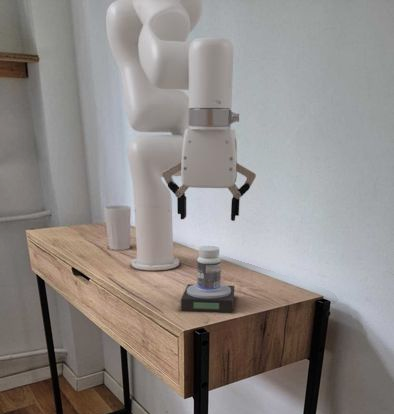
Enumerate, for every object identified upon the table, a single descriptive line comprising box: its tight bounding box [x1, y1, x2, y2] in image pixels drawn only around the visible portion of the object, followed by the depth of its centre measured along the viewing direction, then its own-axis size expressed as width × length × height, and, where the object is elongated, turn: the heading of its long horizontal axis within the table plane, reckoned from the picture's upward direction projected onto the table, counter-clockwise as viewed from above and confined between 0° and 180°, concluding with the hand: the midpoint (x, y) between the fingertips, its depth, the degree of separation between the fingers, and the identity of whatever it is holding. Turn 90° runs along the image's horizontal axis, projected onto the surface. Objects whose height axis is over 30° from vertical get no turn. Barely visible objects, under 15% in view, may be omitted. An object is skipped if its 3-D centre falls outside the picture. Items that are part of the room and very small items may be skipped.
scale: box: [180, 283, 235, 313], centre depth 99 cm, size 10×10×3 cm
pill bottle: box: [196, 245, 222, 292], centre depth 97 cm, size 5×5×8 cm
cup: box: [103, 204, 132, 251], centre depth 146 cm, size 8×8×12 cm
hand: (208, 218), depth 93 cm, fingers open, 9 cm apart
